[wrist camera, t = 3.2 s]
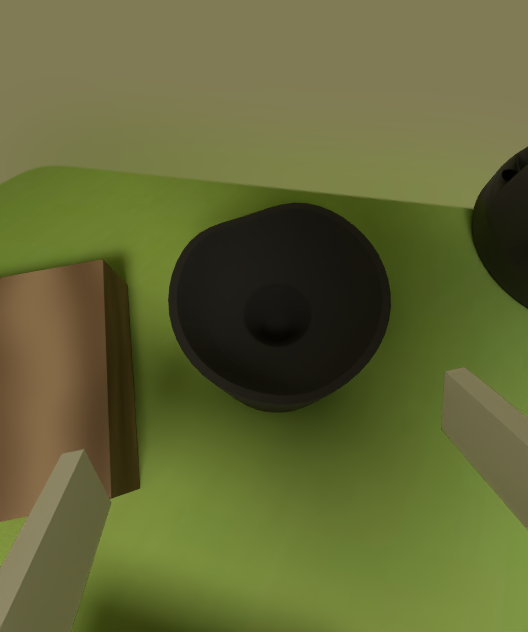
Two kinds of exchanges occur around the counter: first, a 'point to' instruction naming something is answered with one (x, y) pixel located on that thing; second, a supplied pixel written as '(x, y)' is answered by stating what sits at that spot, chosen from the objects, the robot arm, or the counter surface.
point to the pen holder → (280, 305)
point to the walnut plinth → (65, 380)
